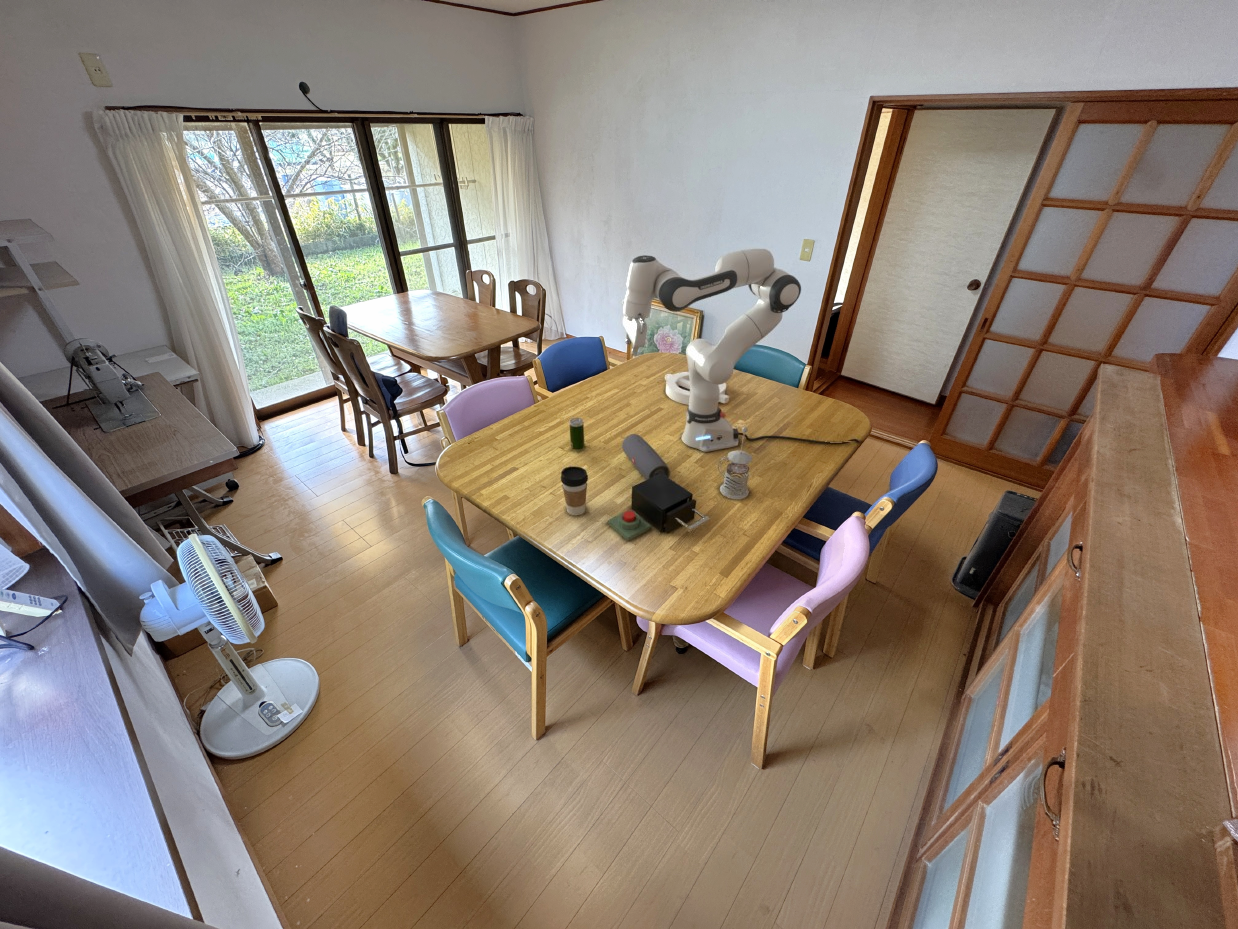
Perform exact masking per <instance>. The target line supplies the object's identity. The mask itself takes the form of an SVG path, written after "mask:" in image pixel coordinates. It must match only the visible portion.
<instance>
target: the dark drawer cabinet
mask: <svg viewBox="0 0 1238 929" xmlns="http://www.w3.org/2000/svg"><path fill="white" fill-rule="evenodd" d="M688 498H689V501H691V500H693V499H694V493H692V492H691V491H689V490H688V489H687V488H685V487H684V486H682V485H680V484H679V483H677V482H676V481H674V480H673V479H671V478H670V477H669V478H668V477H667V476H665V475H664V474H662V473H660V474H658V475H656V476H654V477H651V478H649V479H647V480H646V479H645V480H643V481H641V482H639V483H637V484H634V485H632V486H631V504H630V507H631V508H630V509H631V510H632V511H633V512H635V513H637V514H638V515H639V517H641V518H642V519H643V520H644V521H646V522H647V523H648V524H649V525H651V526H652V527H654V528H655V529H656V530H657V531H658V532H660V533H661V534H662V533H663V532H665V527H663V525H664V512H665V510H667V509H669V508H671V507H673V506H675V505H677V504H679V503H681V502H683V501H684V500H686V499H688Z"/></svg>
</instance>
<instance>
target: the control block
mask: <svg viewBox="0 0 1238 929" xmlns="http://www.w3.org/2000/svg"><path fill="white" fill-rule="evenodd" d="M626 511H632V512H634V513H635V520H634V521H633V522H625V521H624V519H623V514H624V512H626ZM626 511H623V512H621V513H619V514H618V515H615V516H614V517H612V518H610V519H608V520H607V524H608V525H609V527H611V529H613V530H615V531H616V532H617V533H618V534H619V535H620V536H622V538H623V539H625V540H626V541H627V542H629V541H631V540H633V539H635V538H637V537H638V536H640V535H642V534H644V533H646V532H648V531H650V530H651V526H652V525H651V524H650V523H648V522H647V521H646V520H645V519H643V518H642V517H641V516H640V515H638V514H637V513H636V512H635V511H633V510H632V509H631V508H629V509H627V510H626Z"/></svg>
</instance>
